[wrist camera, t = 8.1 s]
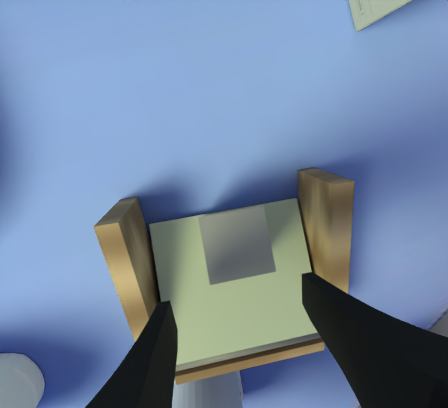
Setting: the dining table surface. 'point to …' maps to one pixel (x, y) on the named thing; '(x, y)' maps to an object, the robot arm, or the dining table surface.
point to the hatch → (233, 291)
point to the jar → (19, 381)
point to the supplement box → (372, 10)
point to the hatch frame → (147, 275)
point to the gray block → (236, 245)
